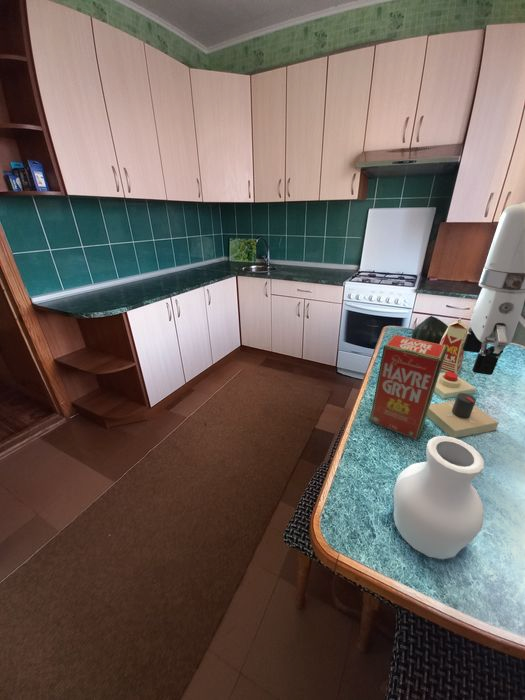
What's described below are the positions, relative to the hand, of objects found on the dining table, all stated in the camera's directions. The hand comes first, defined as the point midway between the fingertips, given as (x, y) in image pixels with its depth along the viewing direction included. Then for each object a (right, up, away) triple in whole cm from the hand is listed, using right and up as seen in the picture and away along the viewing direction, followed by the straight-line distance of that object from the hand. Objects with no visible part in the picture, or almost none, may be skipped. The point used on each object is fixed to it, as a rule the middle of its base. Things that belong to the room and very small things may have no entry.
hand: (475, 361), depth 60 cm
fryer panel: (+12, -18, +23) cm, 32 cm away
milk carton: (+25, -4, +50) cm, 57 cm away
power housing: (+18, -10, +38) cm, 43 cm away
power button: (+18, -7, +36) cm, 41 cm away
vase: (-12, -33, -3) cm, 35 cm away
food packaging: (-6, -19, +23) cm, 31 cm away
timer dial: (+12, -16, +22) cm, 29 cm away
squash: (+26, +2, +63) cm, 68 cm away
